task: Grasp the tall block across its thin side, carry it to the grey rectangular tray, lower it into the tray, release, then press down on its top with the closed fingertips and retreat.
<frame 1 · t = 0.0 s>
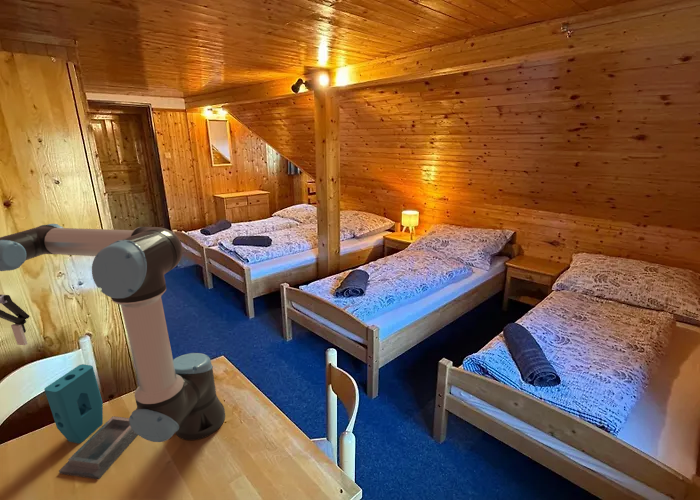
grey rectangular tray: (107, 446, 109), on the table
block: (86, 432, 115), on the table
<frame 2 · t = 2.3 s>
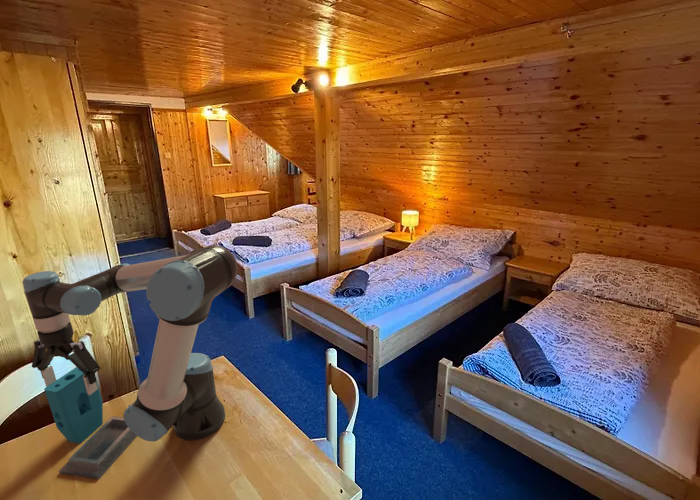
hand: (72, 389, 110), 16 cm above the table, fingers open, 13 cm apart
nothing on the table moved.
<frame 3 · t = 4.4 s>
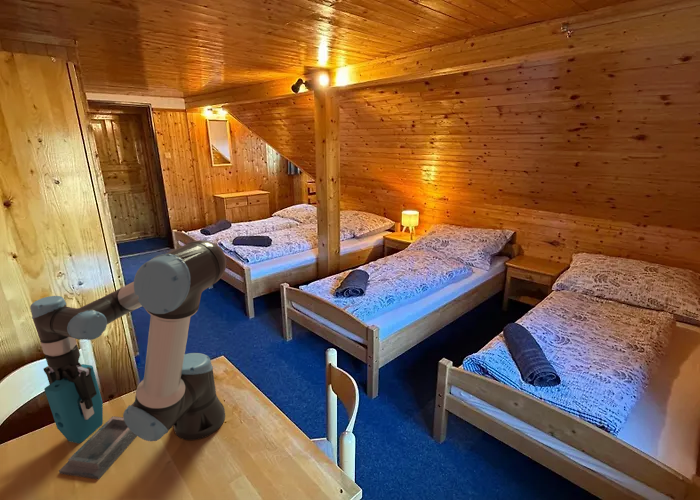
hand: (81, 415, 112), 6 cm above the table, fingers closed on block, 5 cm apart
block: (86, 432, 115), on the table, touching gripper
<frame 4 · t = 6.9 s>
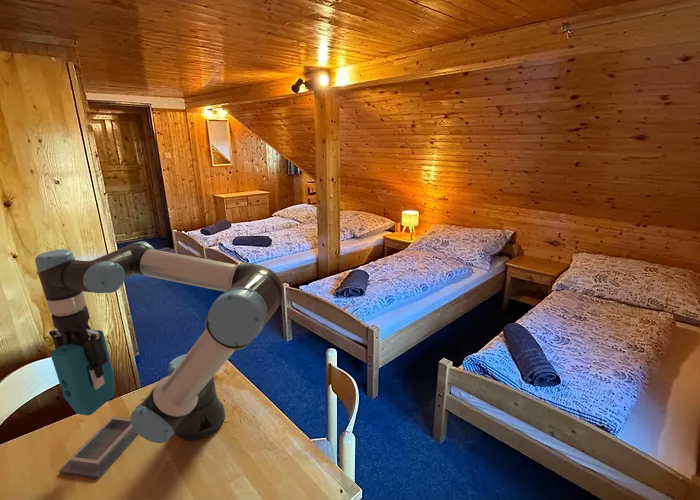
hand: (90, 385, 102), 22 cm above the table, fingers closed on block, 5 cm apart
block: (95, 404, 104), point 15 cm above the table, touching gripper
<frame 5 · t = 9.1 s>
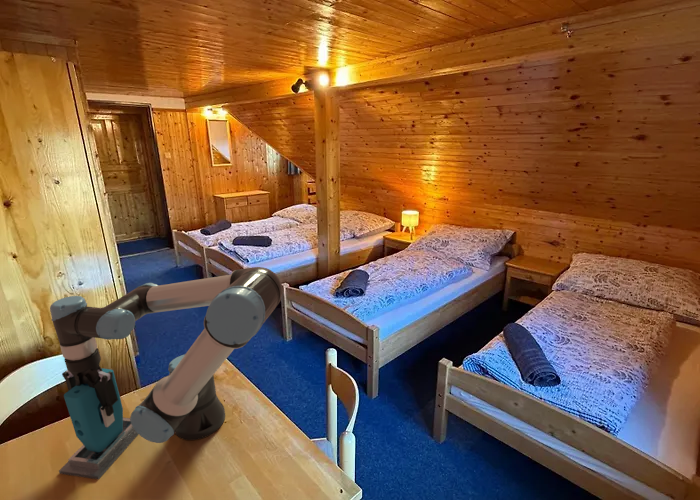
hand: (100, 422, 106), 9 cm above the table, fingers closed on block, 5 cm apart
block: (105, 440, 108), point 2 cm above the table, touching gripper
when the fingers open (9 cm above the table, at t = 9.8 s): block drops 1 cm, resting on grey rectangular tray.
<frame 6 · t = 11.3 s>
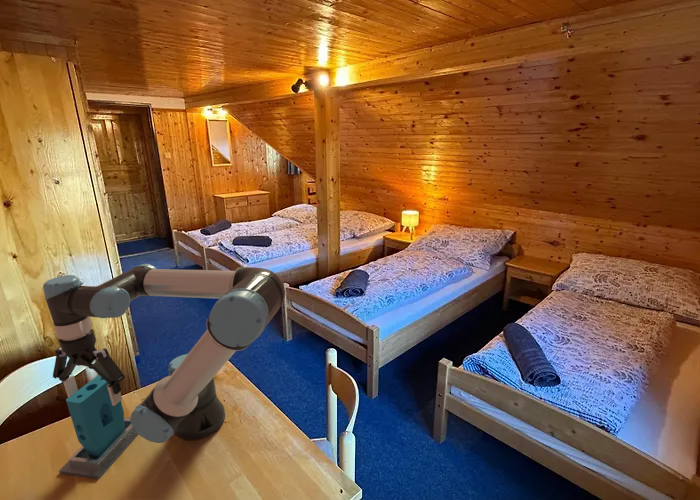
hand: (95, 400, 104), 17 cm above the table, fingers open, 13 cm apart
block: (107, 444, 109), point 1 cm above the table, touching grey rectangular tray
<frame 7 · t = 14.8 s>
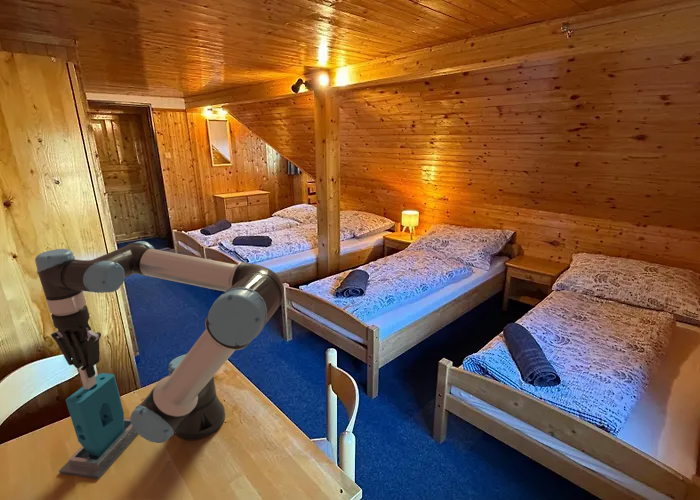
hand: (90, 385, 102), 21 cm above the table, fingers closed
nothing on the table moved.
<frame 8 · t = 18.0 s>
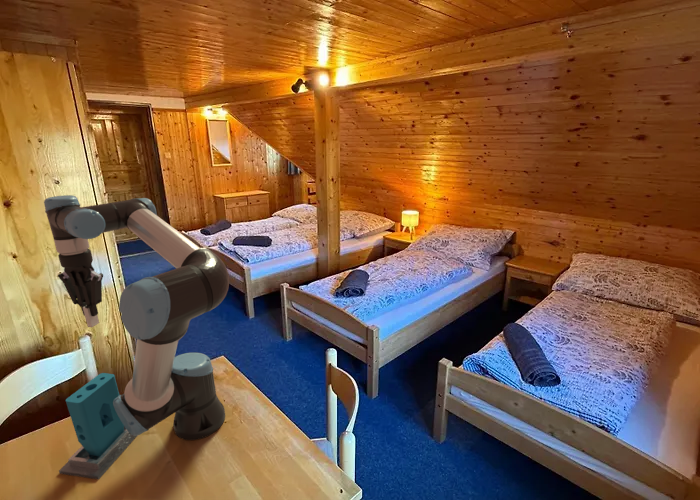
hand: (93, 324, 112), 32 cm above the table, fingers closed
nothing on the table moved.
at the end: block 0.1 cm from the grey rectangular tray (horizontally); block tilted 0°; block touching grey rectangular tray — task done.
